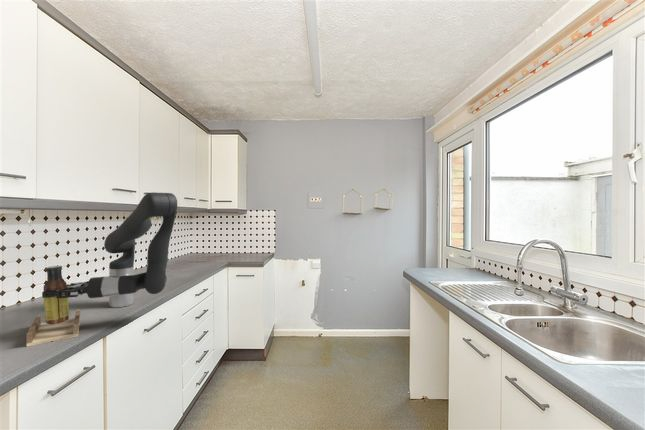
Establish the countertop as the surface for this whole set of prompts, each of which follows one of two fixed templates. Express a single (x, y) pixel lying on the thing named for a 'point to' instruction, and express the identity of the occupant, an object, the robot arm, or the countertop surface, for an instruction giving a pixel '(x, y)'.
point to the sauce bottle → (55, 306)
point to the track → (52, 330)
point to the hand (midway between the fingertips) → (47, 291)
